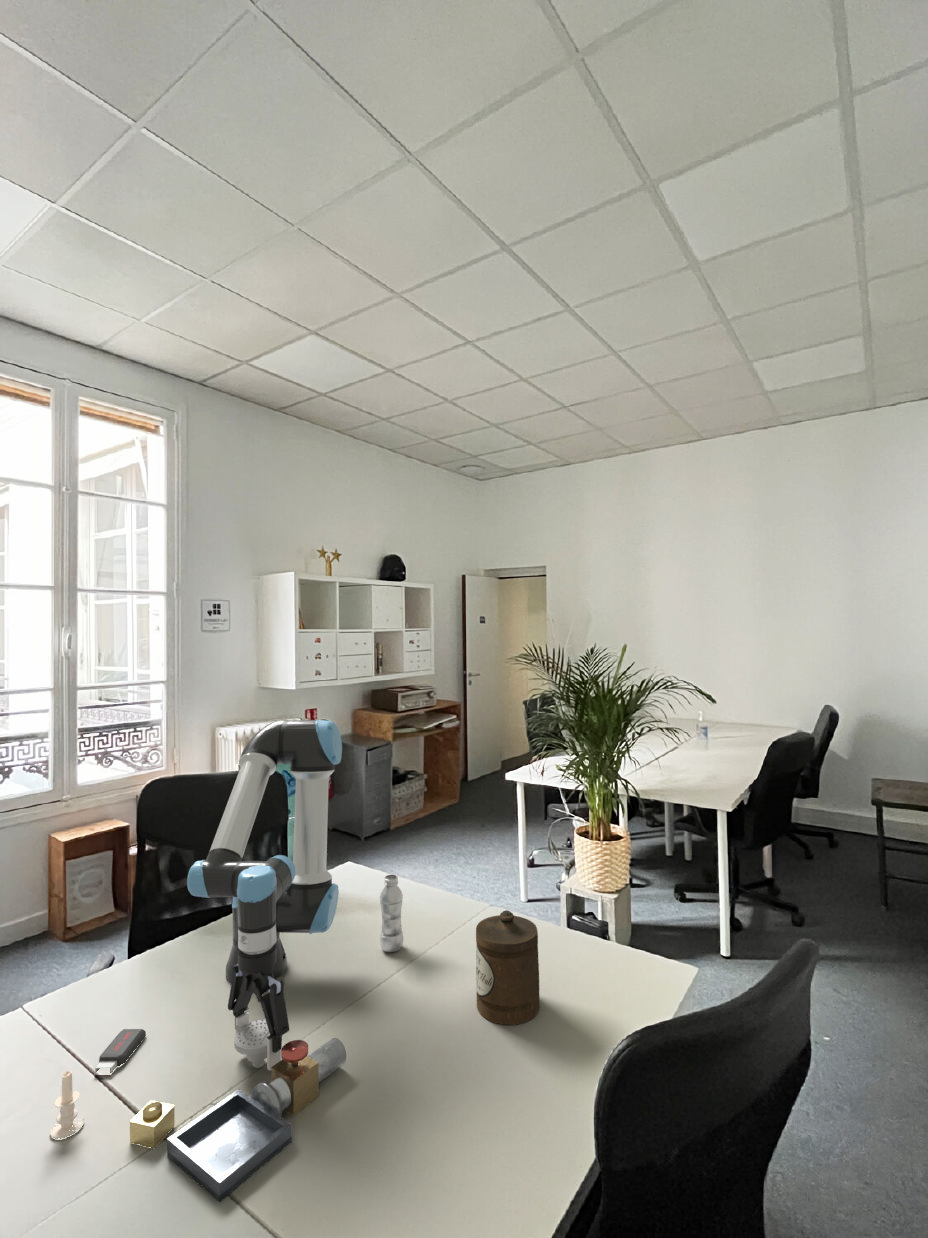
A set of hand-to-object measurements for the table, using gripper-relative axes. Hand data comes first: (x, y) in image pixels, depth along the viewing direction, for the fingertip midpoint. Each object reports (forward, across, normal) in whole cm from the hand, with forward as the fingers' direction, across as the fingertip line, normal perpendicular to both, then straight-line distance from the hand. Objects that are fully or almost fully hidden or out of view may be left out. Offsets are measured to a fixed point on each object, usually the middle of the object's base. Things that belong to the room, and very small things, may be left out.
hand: (257, 1056), depth 129 cm
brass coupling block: (+2, 0, -22) cm, 22 cm away
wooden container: (+2, +32, +46) cm, 56 cm away
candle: (+2, -14, -30) cm, 33 cm away
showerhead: (+2, 0, 0) cm, 2 cm away
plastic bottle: (+2, -8, +50) cm, 51 cm away
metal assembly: (+2, +14, -7) cm, 16 cm away
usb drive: (+2, -26, -15) cm, 30 cm away
